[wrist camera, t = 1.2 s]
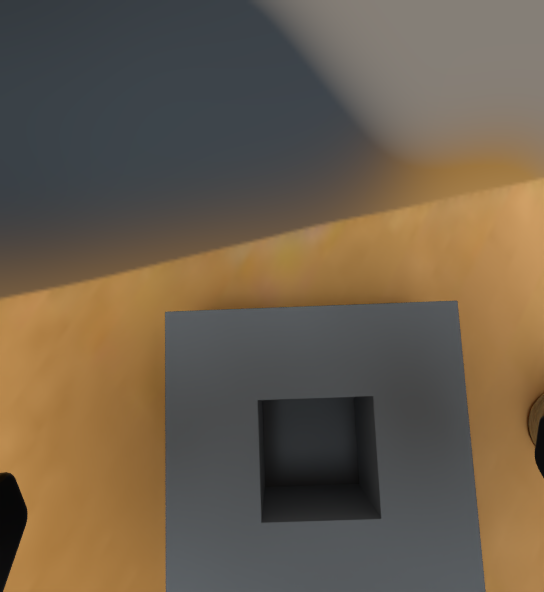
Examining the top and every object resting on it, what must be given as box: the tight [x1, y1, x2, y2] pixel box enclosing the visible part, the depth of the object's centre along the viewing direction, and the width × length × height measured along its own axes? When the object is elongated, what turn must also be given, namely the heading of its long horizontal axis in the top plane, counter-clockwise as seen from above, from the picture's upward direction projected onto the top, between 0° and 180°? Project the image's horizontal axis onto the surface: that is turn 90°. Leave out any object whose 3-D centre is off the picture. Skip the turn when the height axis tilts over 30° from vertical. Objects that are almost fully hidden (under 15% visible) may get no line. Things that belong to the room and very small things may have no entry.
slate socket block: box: [165, 301, 485, 592], centre depth 21 cm, size 13×13×6 cm
